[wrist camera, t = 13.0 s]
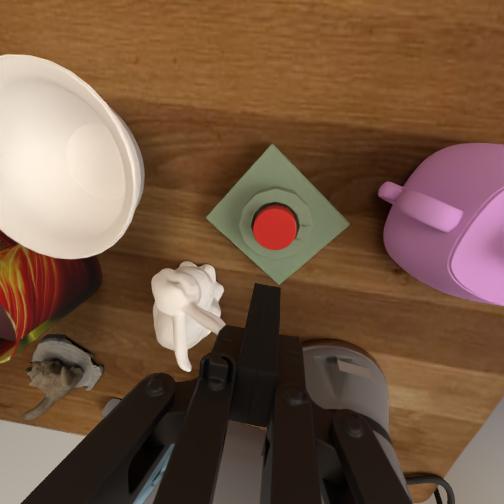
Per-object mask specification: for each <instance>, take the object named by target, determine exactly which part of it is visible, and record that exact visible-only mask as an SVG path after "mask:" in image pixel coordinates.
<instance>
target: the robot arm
mask: <svg viewBox="0 0 504 504" xmlns="http://www.w3.org/2000/svg"><path fill="white" fill-rule="evenodd" d="M280 289H281V288H279V287H274V286H268V285H262V284H257V283H255V286H254V290H253V295H252V299H251V304H250V308H249V313H248V317H247V322H246V326H245V328H240V327H235V326H230V325H225V326H224V327H223V328H222V329H220V330H219V333H218V335H217V339H216V341H215V344H214V347H213V349H212V352H211V353H208V354H207V355H205V356H204V357H203V358H202V360H201V361H200V372H199V377H198V378H196V379H193V380H191V381H185V382H175V381H174V379H173V377H171V376H170V375H168V374H165V373H153V374H151V375H148V376H146V377H145V378H143V379H142V380H141V381H140V382H139V383H138V384H137V385H136V386H135V387H134V388H133V389H132V390H131V391H130V392H129V393H128V394H127V395H126V396H125V397H124V398H123V399H122V400H121V401H120V402H119V403H118V404H117V405H116V406H115V407H114V408H113V409H112V411H111V412H110V413H109V414H108V415H107V416H106V417H105V418H104V419H103V420H102V421H101V422H100V423H99V424H98V425H97V426H96V427H95V428H94V429H93V430H92V431H91V432H90V433H89V434H88V435H87V436H86V437H85V438H84V439H83V440H82V441H81V442H80V443H79V444H78V445H77V446H76V448H75V449H73V451H71V453H70V454H69V455H68V456H67V457H66V458H65V459H64V460H63V461H62V462H61V463H60V464H59V465H58V466H57V467H56V468H55V469H54V470H53V471H52V472H51V473H50V474H49V475H48V476H47V477H46V478H45V479H44V480H43V481H42V482H41V483H40V484H39V485H38V486H37V487H36V488H35V489H34V491H32V492H31V494H30V495H29V496H28V497H27V498H26V499H25V500H24V501H23V502H22V503H21V504H414V502H413V500H412V497H411V494H410V491H409V489H408V486H407V485H410V484H421V483H436V484H440V485H442V486H443V487H444V488H445V490H446V492H447V497H448V501H447V504H455V498H454V493H453V491H452V488H451V487H450V485H449V484H448V483H447V482H446V481H445V480H444V479H442V478H440V477H437V476H432V475H424V476H414V477H404V475H403V472H402V469H401V467H400V464H399V461H398V458H397V456H396V453H395V450H394V448H393V445H392V442H391V439H390V436H389V406H388V400H389V394H388V388H387V383H386V380H385V377H384V375H383V372H382V370H381V368H380V366H379V364H378V363H377V362H376V360H375V359H374V358H373V357H372V356H371V355H370V354H368V353H367V352H366V351H364V350H363V349H361V348H359V347H357V346H355V345H353V344H350V343H347V342H343V341H338V340H313V341H308V342H305V343H302V344H301V342H300V341H299V339H298V337H292V336H287V335H282V334H279V321H280ZM239 422H241V423H239ZM243 423H246V424H251V425H256V426H261V427H265V428H266V425H267V430H262V429H259V428H256V427H252V426H249V425H246V424H243ZM434 496H435V499H436V503H437V504H443V503H442V499H441V496H440V493H439V490H438V487H437V488H436V490H435V491H434Z"/></svg>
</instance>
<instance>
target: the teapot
mask: <svg viewBox="0 0 504 504" xmlns="http://www.w3.org/2000/svg"><path fill="white" fill-rule="evenodd" d="M378 196H379V197H380V198H382V199H384V200H385V201H387V202H389V203H391V204H393V205H392V207H391V210H390V212H389V215H388V217H387V220H386V223H385V226H384V233H383V237H384V245H385V248H386V250H387V252H388V254H389V255H390V257H391V258H392V259H393V260H394V261H395V262H396V263H397V264H398V265H399V266H400V267H401V268H403V269H404V270H405V271H406V272H407V273H409V274H410V275H412V276H413V277H414V278H416V279H417V280H419V281H421V282H423V283H424V284H426V285H428V286H430V287H432V288H434V289H436V290H439V291H441V292H444V293H446V294H449V295H452V296H455V297H459V298H463V299H467V300H472V301H476V302H482V303H488V304H494V305H500V306H504V145H502V144H490V143H465V144H457V145H453V146H449V147H446V148H444V149H442V150H439V151H437V152H435V153H434V154H432V155H431V156H429V157H428V158H426V159H425V160H424V161H423V162H422V163H421V164H420V165H419V166H418V167H417V168H416V170H415V171H414V172H413V173H412V174H411V176H410V177H409V179H408V180H407V181H406V183H405V184H404V186H403V187H402V186H399V185H397V184H394V183H392V182H385V183H384V184H383V185H382V186H381V187H380V188H379V192H378Z"/></svg>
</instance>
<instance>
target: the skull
mask: <svg viewBox="0 0 504 504" xmlns="http://www.w3.org/2000/svg"><path fill="white" fill-rule="evenodd" d="M37 346H38V347H37V349H36V350H35V352H34V354H33V357H32V359H31V360H32V362H29V363H32V364H33V367H29V368H27V369H26V373H27V375H29V376H30V377H31V380H30V382H29V386H34V387H38V388H39V389H40V390H41V391H43V392H44V393H45V397H44V399H43V400H42V401H41V402H40V403H39V404H38V405H37V406H36V407H35V408H34V409H32V410H30V411H28V412H26V413H24V415H23V420H25V421H26V420H32V419H35V418H37V417H39V416H41V415H42V414H44V413H45V412H46V411H47V410H48V409H49V408H50V407H51V406H52V405H53V404H54V403H55V402H56V401H57V400H58V399H59V398H61V397H63V396H64V395H66V394H67V393H68V392H69V391H71V390H72V389H73V388H74V387H82V386H84V385H85V386H88V387H87V389H86V390H91V389H92V388H93V386H94V385H95V384H96V382H97V381H98V379H99V378H100V377H101V375H102V374H103V371H104V369H103V366H99V367H97V365H93V364H92V362H91V358H90V356H91V357H92V358H93V359H94V357H93V356H92V355H90V354H88V353H87V352H86V353H85V352H84V351H83V350H82V349H79V347H77V346H76V345H75V346H73V344H72V343H71V342H70V341H69V340H67V339H66V337H65V335H60V334H56V335H50V334H49V335H47V336H45V337H44V338H43V339H42V341H41V342H40V343H39V344H38V345H37ZM31 366H32V365H31ZM94 367H96V368H94ZM99 371H100V372H99Z"/></svg>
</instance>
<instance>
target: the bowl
mask: <svg viewBox="0 0 504 504" xmlns="http://www.w3.org/2000/svg"><path fill="white" fill-rule="evenodd" d="M144 177H145V174H144V163H143V159H142V155H141V152H140V149H139V147H138V145H137V142H136V140H135V138H134V136H133V134H132V133H131V131H130V130H129V128H128V127H127V125H126V124H125V122H124V121H123V120H122V119H121V118H120V117H119V115H118V114H117V113H116V112H115V111H114V110H113V109H112V108H110V107H109V106H108V105H107V103H106V102H105V101H104V100H103V99H102V98H101V97H100V96H99V95H98V94H97V93H96V92H95V91H94V90H93V88H92V87H91V86H90V85H88V84H87V83H86V82H84V81H83V80H82V79H80V78H79V77H78V76H77V75H75V74H74V73H73V72H71V71H70V70H68V69H66V68H64V67H62V66H60V65H58V64H56V63H54V62H52V61H50V60H46V59H42V58H39V57H35V56H31V55H11V54H6V55H2V56H0V230H1V231H2V232H4V233H5V234H6V235H7V236H8V237H10V238H12V239H13V240H15V241H16V242H18V243H19V244H21V245H22V246H24V247H26V248H28V249H31V250H33V251H35V252H37V253H39V254H43V255H47V256H50V257H54V258H61V259H79V258H87V257H90V256H93V255H96V254H99V253H102V252H103V251H105V250H107V249H108V248H110V247H111V246H113V245H114V244H115V243H116V242H117V241H118V240H119V239H120V238H121V237H122V236H123V235H124V233H125V231H126V230H127V228H128V226H129V224H130V223H131V221H132V218H133V215H134V211H135V209H136V208H137V206H138V204H139V202H140V199H141V196H142V193H143V188H144Z"/></svg>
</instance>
